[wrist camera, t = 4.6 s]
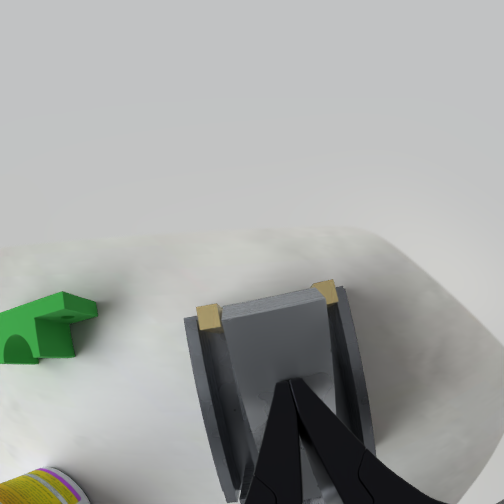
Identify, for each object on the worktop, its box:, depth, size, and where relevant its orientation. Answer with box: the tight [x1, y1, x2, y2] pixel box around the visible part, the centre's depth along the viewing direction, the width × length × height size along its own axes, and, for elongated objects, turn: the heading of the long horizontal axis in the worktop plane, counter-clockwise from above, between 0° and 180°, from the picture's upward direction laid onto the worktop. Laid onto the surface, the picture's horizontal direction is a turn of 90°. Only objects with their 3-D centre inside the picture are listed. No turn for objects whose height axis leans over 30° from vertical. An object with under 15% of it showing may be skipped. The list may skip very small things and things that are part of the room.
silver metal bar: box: [221, 287, 336, 504], centre depth 10 cm, size 12×4×2 cm, turn 11°
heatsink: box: [184, 279, 376, 504], centre depth 14 cm, size 12×10×7 cm
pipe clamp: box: [0, 291, 98, 364], centre depth 17 cm, size 11×4×5 cm, turn 107°
